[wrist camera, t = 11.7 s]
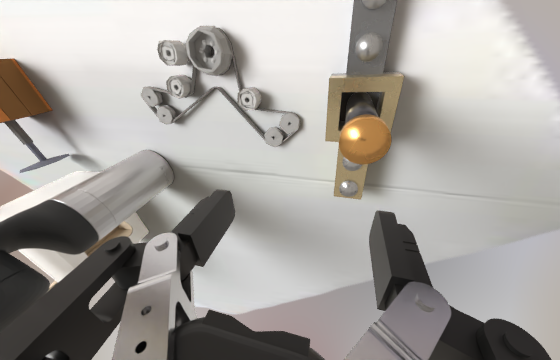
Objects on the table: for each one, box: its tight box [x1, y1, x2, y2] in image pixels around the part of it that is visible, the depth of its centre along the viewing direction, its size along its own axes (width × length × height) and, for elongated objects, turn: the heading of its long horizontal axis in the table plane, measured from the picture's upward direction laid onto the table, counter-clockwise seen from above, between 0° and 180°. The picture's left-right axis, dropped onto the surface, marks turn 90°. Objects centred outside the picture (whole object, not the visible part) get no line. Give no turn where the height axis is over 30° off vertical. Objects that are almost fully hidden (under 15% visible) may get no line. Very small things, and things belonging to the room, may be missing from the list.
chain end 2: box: [325, 74, 404, 199], centre depth 28 cm, size 8×17×4 cm, turn 4°
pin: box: [339, 92, 391, 164], centre depth 22 cm, size 4×4×13 cm
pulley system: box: [141, 26, 300, 147], centre depth 31 cm, size 27×5×15 cm
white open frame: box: [0, 171, 149, 292], centre depth 48 cm, size 22×13×28 cm, turn 9°
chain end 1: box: [331, 0, 400, 126], centre depth 24 cm, size 8×17×3 cm, turn 4°
